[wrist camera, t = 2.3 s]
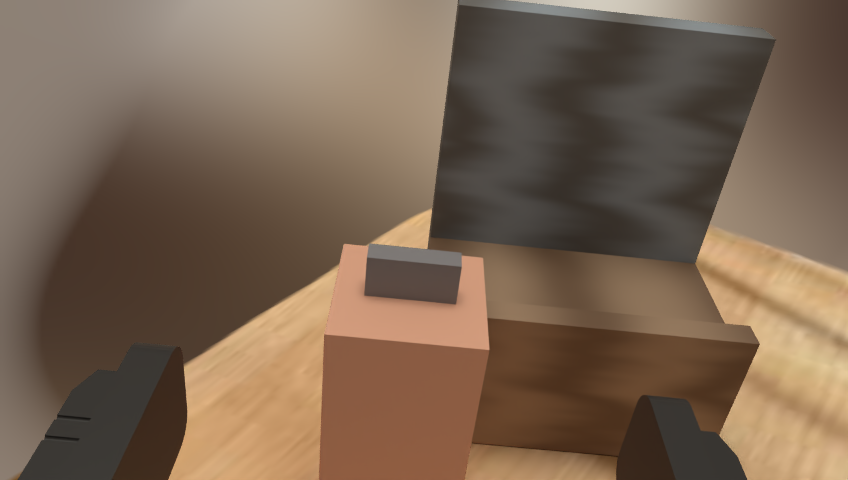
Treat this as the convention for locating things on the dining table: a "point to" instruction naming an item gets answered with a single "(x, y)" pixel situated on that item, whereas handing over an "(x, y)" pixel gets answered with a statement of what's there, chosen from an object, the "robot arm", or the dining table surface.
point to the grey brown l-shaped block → (593, 212)
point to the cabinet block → (402, 364)
